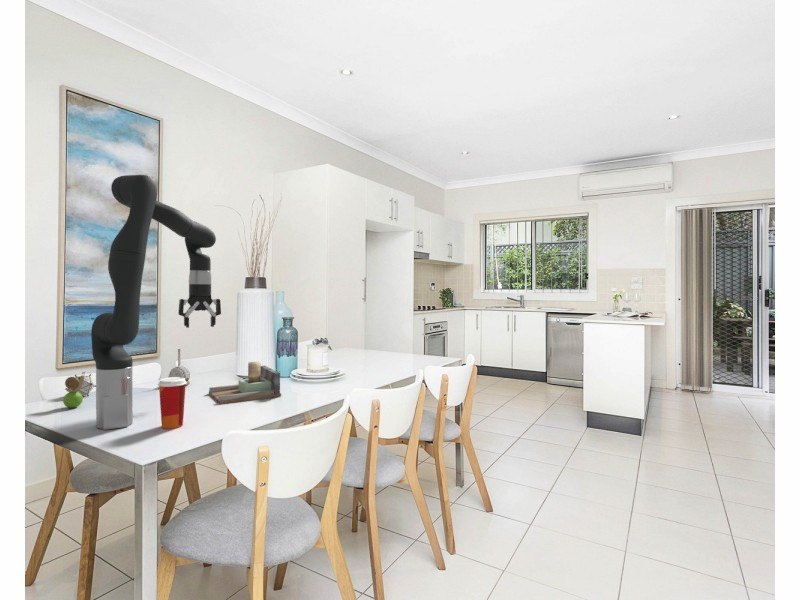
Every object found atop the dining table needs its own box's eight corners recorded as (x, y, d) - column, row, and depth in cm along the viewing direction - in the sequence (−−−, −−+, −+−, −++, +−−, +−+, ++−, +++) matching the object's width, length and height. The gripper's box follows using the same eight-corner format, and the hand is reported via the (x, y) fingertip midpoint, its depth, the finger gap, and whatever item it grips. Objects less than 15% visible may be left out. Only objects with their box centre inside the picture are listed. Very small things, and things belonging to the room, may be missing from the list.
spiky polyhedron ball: (82, 407, 168) (76, 389, 162) (64, 397, 170) (58, 379, 164) (103, 391, 175) (98, 373, 169) (86, 381, 177) (80, 364, 171)
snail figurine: (79, 409, 152) (79, 373, 152) (59, 409, 152) (58, 373, 151) (89, 405, 157) (89, 370, 157) (69, 405, 157) (69, 370, 156)
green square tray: (270, 392, 176) (271, 381, 176) (245, 395, 171) (245, 384, 171) (262, 387, 184) (262, 377, 184) (238, 390, 179) (238, 379, 179)
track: (281, 396, 174) (281, 372, 174) (220, 404, 162) (220, 378, 162) (265, 387, 189) (265, 365, 189) (208, 393, 177) (208, 370, 176)
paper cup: (176, 420, 142) (176, 375, 142) (192, 424, 138) (192, 378, 138) (151, 427, 135) (151, 380, 135) (167, 431, 132) (167, 383, 131)
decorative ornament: (177, 382, 195) (177, 347, 194) (193, 383, 193) (193, 348, 192) (164, 386, 187) (164, 349, 186) (181, 387, 185) (181, 350, 185)
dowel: (261, 389, 177) (262, 363, 177) (249, 390, 174) (250, 364, 174) (258, 386, 181) (258, 361, 180) (246, 388, 178) (246, 362, 178)
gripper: (180, 282, 162) (180, 328, 163) (222, 283, 171) (222, 327, 171) (177, 282, 169) (177, 326, 169) (217, 283, 177) (217, 325, 177)
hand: (200, 327), depth 170 cm, fingers open, 8 cm apart
